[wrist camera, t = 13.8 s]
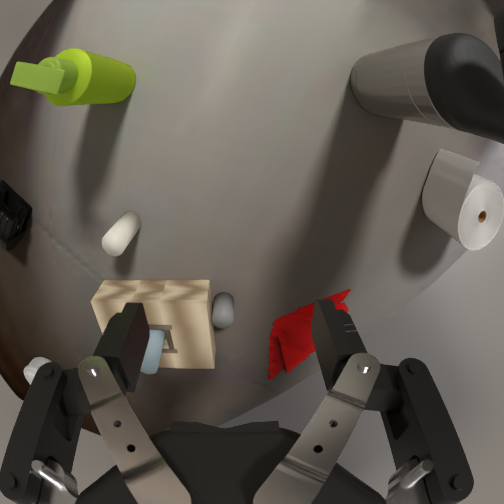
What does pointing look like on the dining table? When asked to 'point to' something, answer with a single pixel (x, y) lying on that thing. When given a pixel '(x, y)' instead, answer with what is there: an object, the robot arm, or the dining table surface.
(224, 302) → the short pin
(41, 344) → the dining table surface
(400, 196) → the dining table surface
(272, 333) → the cloth
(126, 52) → the dining table surface
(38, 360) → the ramekin
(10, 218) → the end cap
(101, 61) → the soap dispenser
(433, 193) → the toilet tissue
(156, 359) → the long pin
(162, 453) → the robot arm
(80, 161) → the dining table surface
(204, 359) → the hole block
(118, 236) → the medium pin
